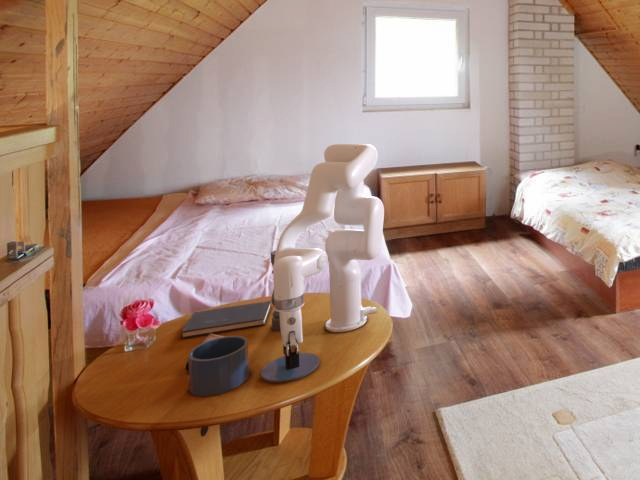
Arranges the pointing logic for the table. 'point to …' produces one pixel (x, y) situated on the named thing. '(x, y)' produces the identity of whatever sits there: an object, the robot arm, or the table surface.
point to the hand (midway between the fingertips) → (291, 360)
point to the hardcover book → (226, 319)
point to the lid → (280, 374)
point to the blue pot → (218, 365)
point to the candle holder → (275, 314)
